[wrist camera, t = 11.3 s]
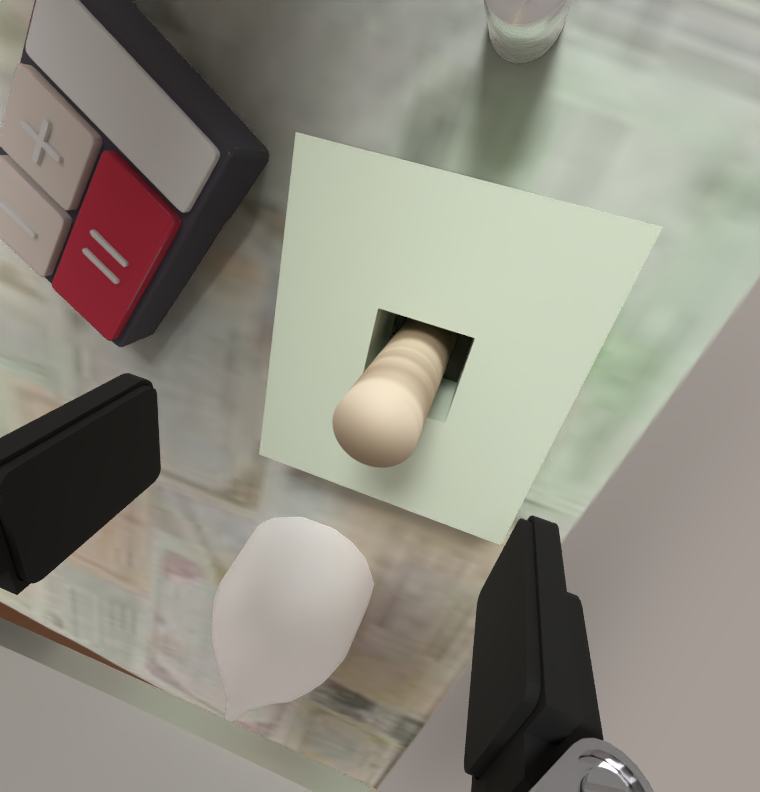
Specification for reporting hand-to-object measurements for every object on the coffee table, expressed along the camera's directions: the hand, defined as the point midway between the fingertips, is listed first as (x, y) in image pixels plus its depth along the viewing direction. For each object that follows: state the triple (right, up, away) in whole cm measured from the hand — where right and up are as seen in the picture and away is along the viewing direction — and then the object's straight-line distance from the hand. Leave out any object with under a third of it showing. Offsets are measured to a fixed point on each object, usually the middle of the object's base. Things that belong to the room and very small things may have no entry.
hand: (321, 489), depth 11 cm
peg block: (+4, +6, +14) cm, 15 cm away
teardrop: (-4, -12, +25) cm, 28 cm away
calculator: (-13, +15, +15) cm, 25 cm away
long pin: (+4, +6, +14) cm, 15 cm away
